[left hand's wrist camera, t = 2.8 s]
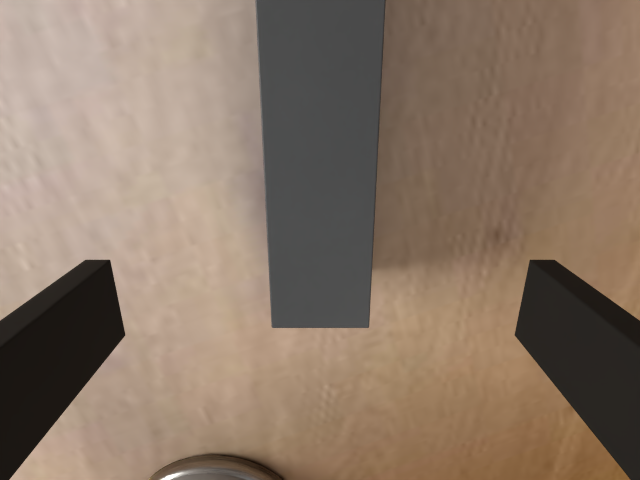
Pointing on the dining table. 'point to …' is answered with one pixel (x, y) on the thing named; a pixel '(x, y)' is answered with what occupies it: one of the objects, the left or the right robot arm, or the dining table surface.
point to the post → (320, 156)
